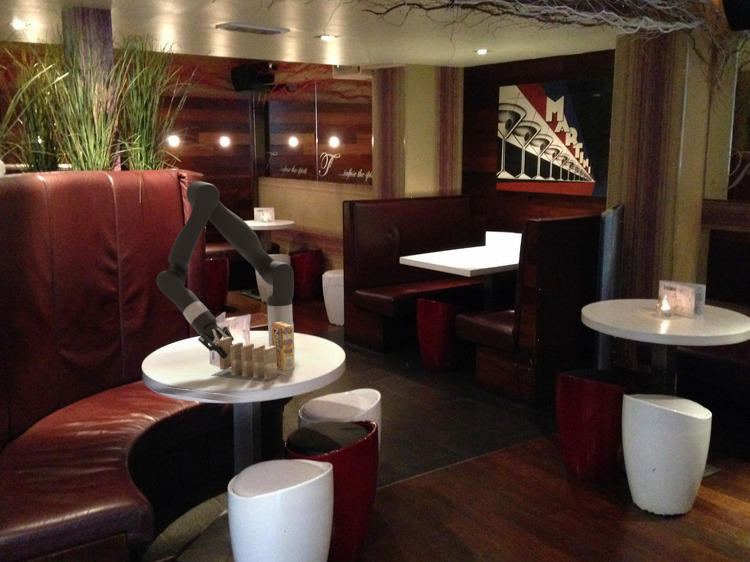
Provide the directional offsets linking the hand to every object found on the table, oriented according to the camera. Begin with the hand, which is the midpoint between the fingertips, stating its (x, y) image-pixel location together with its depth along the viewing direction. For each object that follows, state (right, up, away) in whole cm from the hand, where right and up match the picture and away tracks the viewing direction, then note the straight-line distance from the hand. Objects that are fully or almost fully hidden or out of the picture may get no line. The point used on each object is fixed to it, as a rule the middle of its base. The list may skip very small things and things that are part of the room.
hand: (230, 355), depth 239 cm
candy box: (+17, -5, +8) cm, 19 cm away
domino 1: (-2, -4, +1) cm, 5 cm away
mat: (+6, -7, -1) cm, 9 cm away
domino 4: (+10, -6, -4) cm, 13 cm away
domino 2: (+2, -6, 0) cm, 7 cm away
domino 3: (+6, -6, -2) cm, 9 cm away
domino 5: (+14, -7, -5) cm, 17 cm away
